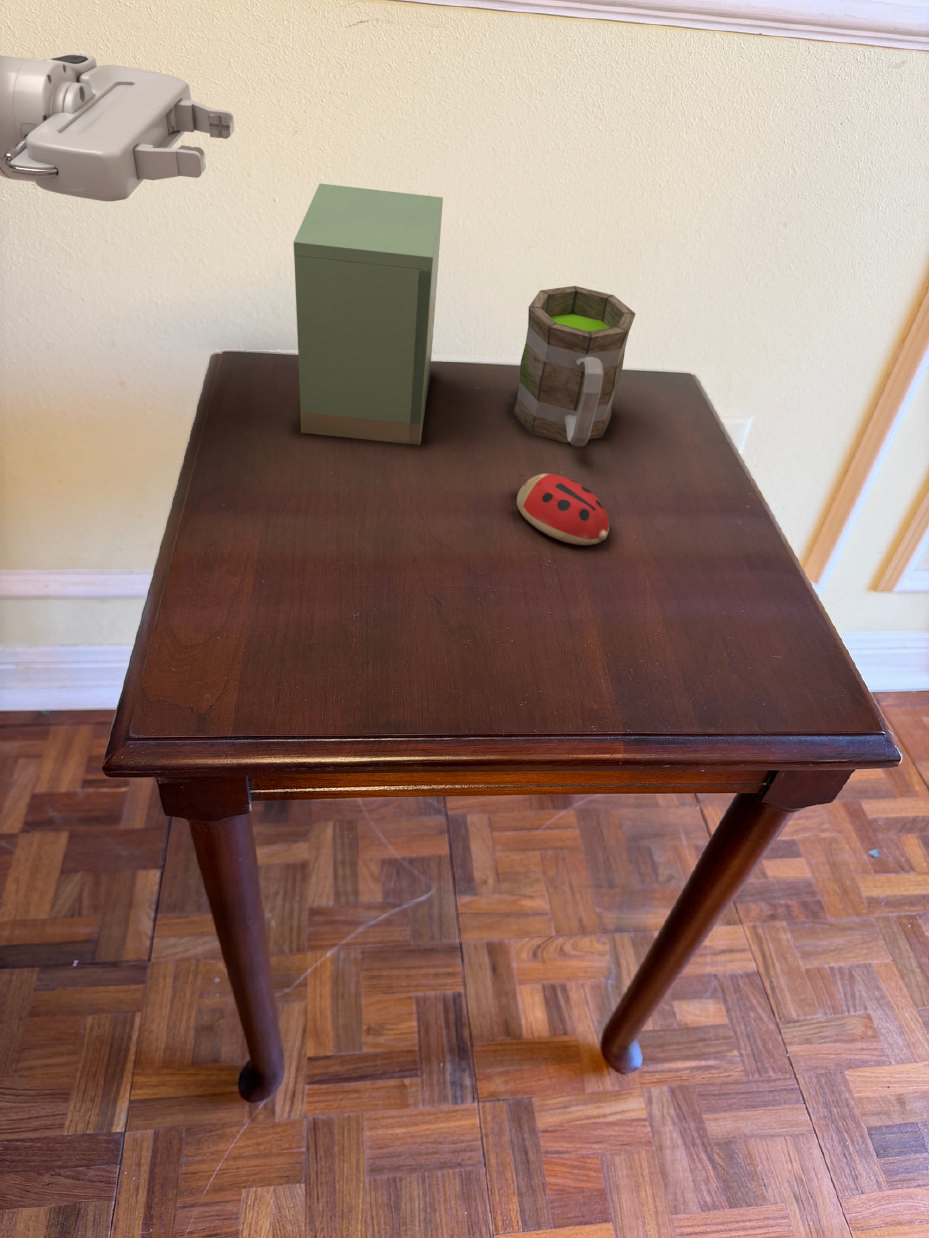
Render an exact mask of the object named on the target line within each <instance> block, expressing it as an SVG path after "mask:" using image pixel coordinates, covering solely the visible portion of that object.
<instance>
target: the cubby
mask: <svg viewBox="0 0 929 1238" xmlns="http://www.w3.org/2000/svg"><path fill="white" fill-rule="evenodd" d="M443 203H444V197H443V196H435V195H434V196H432V195H424V194H417V193H416V194H415V193H406V192H398V191H391V190H390V191H389V190H382V189H381V190H380V189H371V188H363V187H353V186H346V185H339V184H338V185H337V184H328V183H327V184H326V183H319V184H318V185H317V188H316V190H315V192H314V195H313V197H312V199H311V201H310V204H309V206H308V208H307V211H306V212H305V215H304V217H303V220H302V222H301V224H300V226H299V228H298V231H297V233H296V235H295V238H294V240H293V259H294V260H293V262H294V263H293V264H294V285H295V309H296V310H295V311H296V334H297V335H296V337H297V357H298V358H297V359H298V360H297V361H298V378H299V379H298V381H299V404H300V405H299V408H300V431H301V433H302V434H311V435H312V434H313V435H319V436H320V435H321V436H331V437H341V438H350V439H360V440H367V441H379V442H390V443H397V444H407V445H417V446H420V445H421V442H422V435H423V427H424V422H425V421H424V419H425V415H426V414H425V413H426V407H427V398H428V392H429V385H430V378H431V366H432V355H433V340H434V339H433V338H434V325H435V313H436V312H435V311H436V301H437V299H436V298H437V285H438V273H439V272H438V271H439V258H440V247H441V246H440V245H441V244H440V243H441V231H442V217H443V206H444V205H443Z"/></svg>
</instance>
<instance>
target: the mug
mask: <svg viewBox="0 0 929 1238" xmlns="http://www.w3.org/2000/svg"><path fill="white" fill-rule="evenodd" d="M635 317H636V312H634V311H633V310H632V309H631V308H630V307H628V305H626V304H625V303H624V302H623V301H621V300H620V299H619V298H618V297H616V296H615V295H614V294H610V293H607V292H602V291H598V290H593V289H589V288H587V287H586V288H585V287H581V286H578V285H569V286H564V287H563V286H561V287H556V288H548V289H541V290H539V291H538V293H537V294H536V295H535V297H534V298H533V300H532V301H531V302H530V304H529V306H528V319H527V330H526V338H525V344H524V348H523V351H522V355H521V359H520V365H519V368H520V369H519V382H518V383H519V384H518V390H517V395H516V400H515V403H514V406H513V410H512V414H513V415H514V416H515V417H516V418H517V419H518V421H519V422H520V423H521V424H522V425H523V426H524V427H525V429H526V430H527V431H528V432H529V433H530V434H532V435H536V436H538V437H542V438H547V439H551V440H554V441H558V442H560V443H561V442H562V443H565V444H567V445H569V444H571V446H574V447H578V448H579V447H584V446H586V445H587V444H588V441H589V440H593V439H594V440H595V439H598V438H603V437H604V434H605V432H606V430H607V427H608V425H609V424H610V420H611V418H612V410H613V402H614V396H615V394H616V388H617V385H618V382H619V380H620V376H621V374H622V370H623V367H624V361H625V355H626V354H625V353H626V348H627V344H628V339H629V335H630V330H631V329H632V325H633V323H634V320H635Z"/></svg>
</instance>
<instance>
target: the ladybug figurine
mask: <svg viewBox="0 0 929 1238" xmlns="http://www.w3.org/2000/svg"><path fill="white" fill-rule="evenodd" d="M516 505H517V508H518V510H519V512H520V515H522V517H523V518H524V519H525V521H527V522H528V523H529V524H530V525H531V526H533V527H534V528H536V529H537V530H539V531H540V532H542V533H543V534H544V535H547V536H548V537H551V538H553V539H555V540H558V541H560V542H563V543H567V544H571V545H575V546H591V545H592V546H593V545H596V544H599V543H601V542H603V541H604V540H607V537H608V534H609V532H610V521H609V516H608V513H607V510H606V509H605V506H604V505H603V503H602V502H601V501H600V499H599V498H598V497H597V496H596V495H595V494H594V493H593V492H592V491H591V490H590V489H588V488H587V487H585V486H583V485H582V484H580V483H578V482H577V481H575V480H573V479H570V478H567V477H565V476H561V475H558V474H553V473H540V474H537V475H534V476H532V477H531V478H529V479H528V480H527V481H526V482H525V483H524V484H523V485H522V487H520V489H519V490H518V493H517V496H516Z"/></svg>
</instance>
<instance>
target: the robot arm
mask: <svg viewBox="0 0 929 1238" xmlns="http://www.w3.org/2000/svg"><path fill="white" fill-rule="evenodd" d="M195 132H200V133H205V134H209V138H215V139H225V140H227V139H229V138H230V137H231V136H232V135H233V133H234V132H235V121H234V115H233V113H232V112H231V111H229V110H225V109H223V110H222V109H215V108H212V107H210V106H207V105H205V104H203V103H200V102H198V101H195V100H192V95H191V88H190V85H189V83H188V82H186V81H185V80H184V79H181V78H179V77H177V76H174V75H170V74H166V73H161V72H156V71H152V70H151V71H150V70H145V69H142V68H141V69H140V68H135V67H129V66H124V65H123V66H122V65H115V64H103V65H102V64H101V65H98V63H97V60H96V57H95V56H93V55H88V54H82V53H73V54H67V55H62V56H58V57H53V58H50V59H47V58H39V57H29V58H25V57H16V56H8V55H0V177H2V178H5V179H9V180H14V181H21V182H22V181H23V182H34V183H35V184H36V186H37V187H39V188H40V189H42V190H45V191H48V192H51V193H55V194H61V195H65V196H69V197H76V198H81V199H86V200H94V201H98V202H99V201H101V202H118V201H124V200H127V199H128V198H129V197H130V196H131V195H132V194H133V192H135V190H136V189H137V188H138V187H139V186H140V184H141V183H142V182H143V181H144V180H145V181H158V180H163V179H164V180H165V179H171V178H176V177H178V178H179V177H186V178H194V179H195V178H196V179H198V178H200V177H201V176H202V174H203V173H204V171H205V170H206V169H207V165H206V155H205V154H206V153H205V151H204V149H202V148H201V147H198V146H190V145H180V146H179V147H176V148H175V147H174V145H175V144H176V143H177V142H178V141H179V140H180V139H181V138H182V136H183V135H184V134H185V133H195Z"/></svg>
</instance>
